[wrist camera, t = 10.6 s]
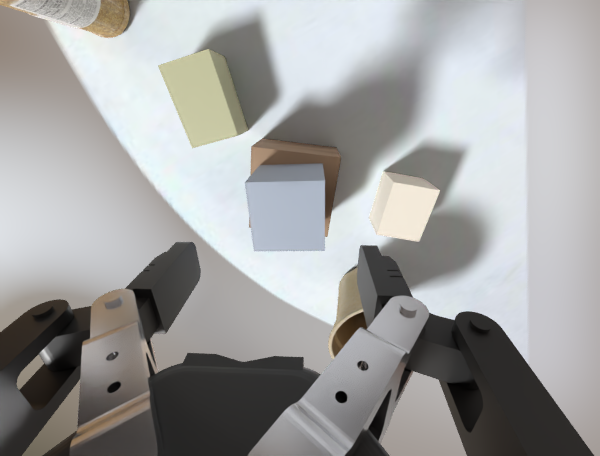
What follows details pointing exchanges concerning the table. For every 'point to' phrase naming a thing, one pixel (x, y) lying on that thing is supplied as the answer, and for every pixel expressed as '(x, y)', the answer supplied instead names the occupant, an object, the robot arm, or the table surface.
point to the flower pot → (347, 313)
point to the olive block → (204, 97)
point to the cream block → (402, 206)
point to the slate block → (287, 207)
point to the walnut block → (300, 154)
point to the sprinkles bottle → (79, 13)
